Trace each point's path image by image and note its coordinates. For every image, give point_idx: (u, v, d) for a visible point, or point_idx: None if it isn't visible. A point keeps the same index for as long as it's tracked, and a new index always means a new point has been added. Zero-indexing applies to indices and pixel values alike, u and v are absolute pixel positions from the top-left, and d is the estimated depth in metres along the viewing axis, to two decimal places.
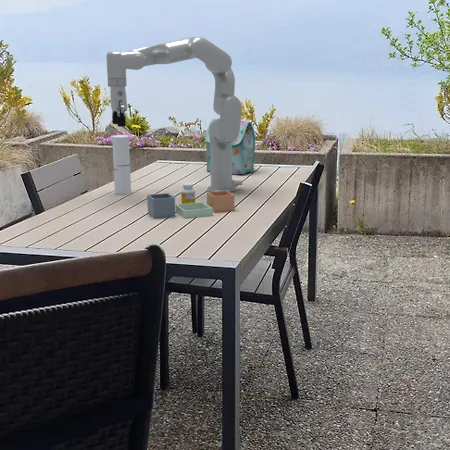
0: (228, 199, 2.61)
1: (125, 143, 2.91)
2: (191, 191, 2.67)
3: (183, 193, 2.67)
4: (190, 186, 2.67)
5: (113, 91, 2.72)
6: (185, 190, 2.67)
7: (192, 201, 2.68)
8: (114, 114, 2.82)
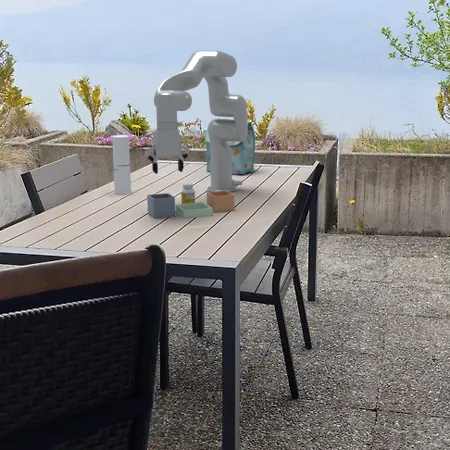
0: (228, 199, 2.61)
1: (125, 143, 2.91)
2: (191, 191, 2.67)
3: (183, 193, 2.67)
4: (190, 186, 2.67)
5: (176, 135, 2.49)
6: (185, 190, 2.67)
7: (192, 201, 2.68)
8: (156, 162, 2.50)
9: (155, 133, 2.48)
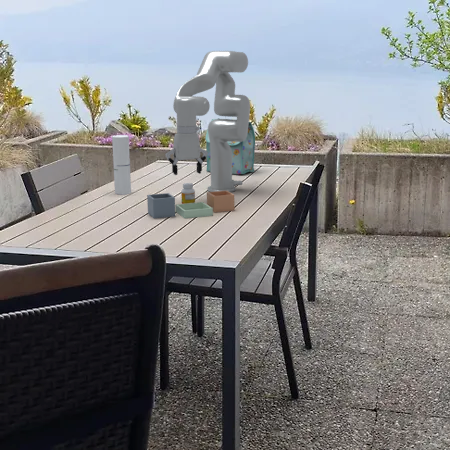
0: (228, 199, 2.61)
1: (125, 143, 2.91)
2: (191, 191, 2.67)
3: (183, 193, 2.67)
4: (190, 186, 2.67)
5: (195, 138, 2.63)
6: (185, 190, 2.67)
7: (192, 201, 2.68)
8: None
9: (175, 136, 2.62)
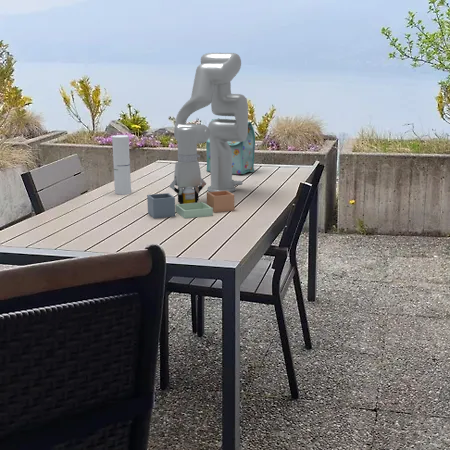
0: (228, 199, 2.61)
1: (125, 143, 2.91)
2: (191, 191, 2.67)
3: (183, 193, 2.67)
4: (190, 186, 2.67)
5: (196, 166, 2.66)
6: (185, 190, 2.67)
7: (192, 201, 2.68)
8: None
9: (176, 165, 2.65)
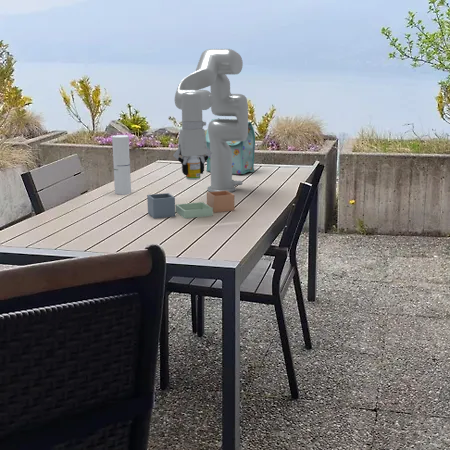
0: (228, 199, 2.61)
1: (125, 143, 2.91)
2: (196, 161, 2.51)
3: (188, 163, 2.51)
4: None
5: (201, 134, 2.49)
6: (190, 159, 2.51)
7: (197, 171, 2.52)
8: None
9: (180, 132, 2.49)
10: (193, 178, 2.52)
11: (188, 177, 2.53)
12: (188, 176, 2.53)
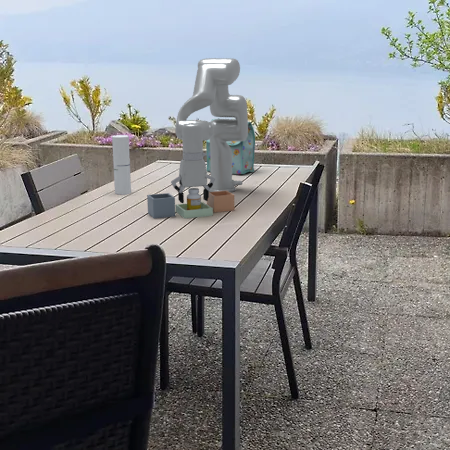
0: (228, 199, 2.61)
1: (125, 143, 2.91)
2: (197, 196, 2.55)
3: (189, 199, 2.55)
4: (196, 191, 2.55)
5: (202, 165, 2.52)
6: (191, 195, 2.55)
7: (198, 207, 2.56)
8: (182, 192, 2.54)
9: (181, 163, 2.52)
10: None
11: None
12: None
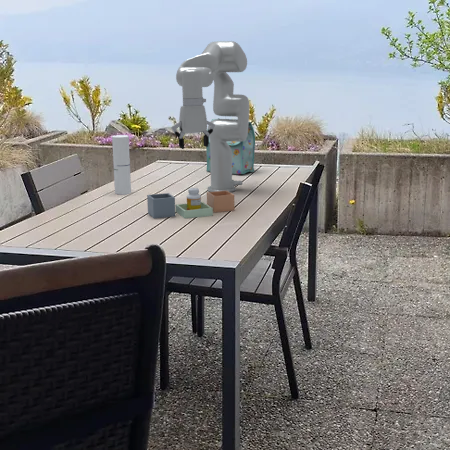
0: (228, 199, 2.61)
1: (125, 143, 2.91)
2: (197, 196, 2.55)
3: (189, 199, 2.55)
4: (196, 191, 2.55)
5: (202, 111, 2.55)
6: (191, 195, 2.55)
7: (198, 207, 2.56)
8: (182, 138, 2.57)
9: (181, 109, 2.54)
10: None
11: None
12: None
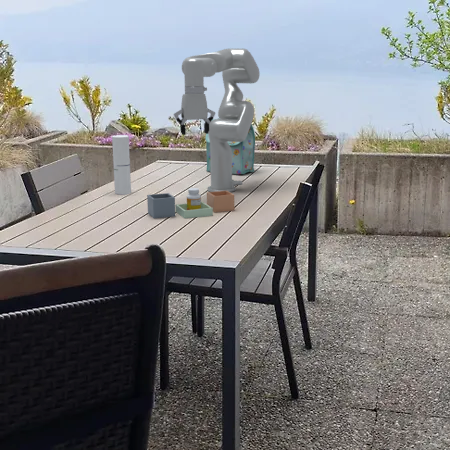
0: (228, 199, 2.61)
1: (125, 143, 2.91)
2: (197, 196, 2.55)
3: (189, 199, 2.55)
4: (196, 191, 2.55)
5: (203, 99, 2.68)
6: (191, 195, 2.55)
7: (198, 207, 2.56)
8: None
9: (183, 97, 2.67)
10: None
11: None
12: None
